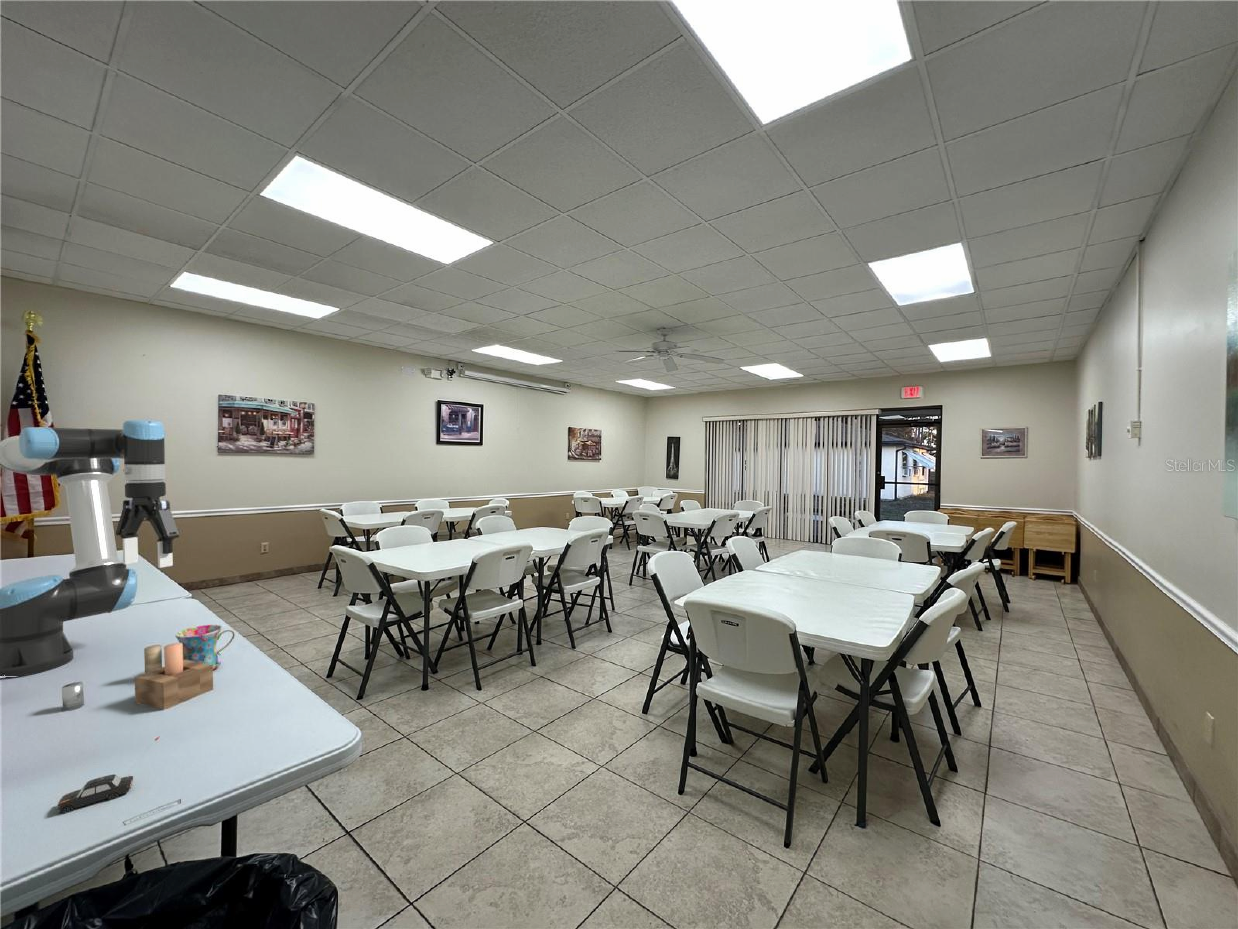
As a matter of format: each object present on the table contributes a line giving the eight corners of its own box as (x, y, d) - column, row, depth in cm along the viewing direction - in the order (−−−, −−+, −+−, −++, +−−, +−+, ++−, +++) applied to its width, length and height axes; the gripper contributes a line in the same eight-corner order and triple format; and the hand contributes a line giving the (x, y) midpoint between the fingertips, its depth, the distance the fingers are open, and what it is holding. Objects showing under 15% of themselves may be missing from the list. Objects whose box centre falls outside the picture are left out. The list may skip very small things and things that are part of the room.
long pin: (162, 698, 116) (160, 647, 115) (178, 692, 119) (176, 642, 119) (171, 700, 115) (169, 648, 114) (187, 694, 118) (185, 643, 117)
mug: (177, 682, 124) (176, 640, 124) (175, 670, 131) (174, 630, 130) (237, 667, 132) (236, 628, 132) (233, 657, 139) (232, 619, 139)
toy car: (63, 804, 81) (61, 756, 81) (162, 776, 88) (161, 732, 88) (55, 818, 78) (53, 769, 78) (159, 788, 85) (157, 742, 85)
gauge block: (135, 703, 114) (134, 677, 114) (185, 683, 123) (184, 659, 123) (164, 709, 110) (163, 683, 110) (213, 689, 120) (212, 664, 120)
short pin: (58, 710, 110) (57, 688, 110) (75, 702, 114) (74, 681, 113) (71, 711, 110) (70, 689, 110) (88, 703, 113) (87, 682, 113)
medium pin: (142, 680, 125) (141, 648, 125) (157, 675, 128) (156, 644, 128) (150, 682, 124) (149, 650, 124) (165, 676, 127) (164, 645, 127)
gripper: (95, 481, 126) (98, 564, 127) (160, 483, 119) (162, 571, 119) (132, 480, 134) (134, 558, 134) (195, 481, 126) (197, 564, 126)
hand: (147, 565), depth 127 cm, fingers open, 13 cm apart
